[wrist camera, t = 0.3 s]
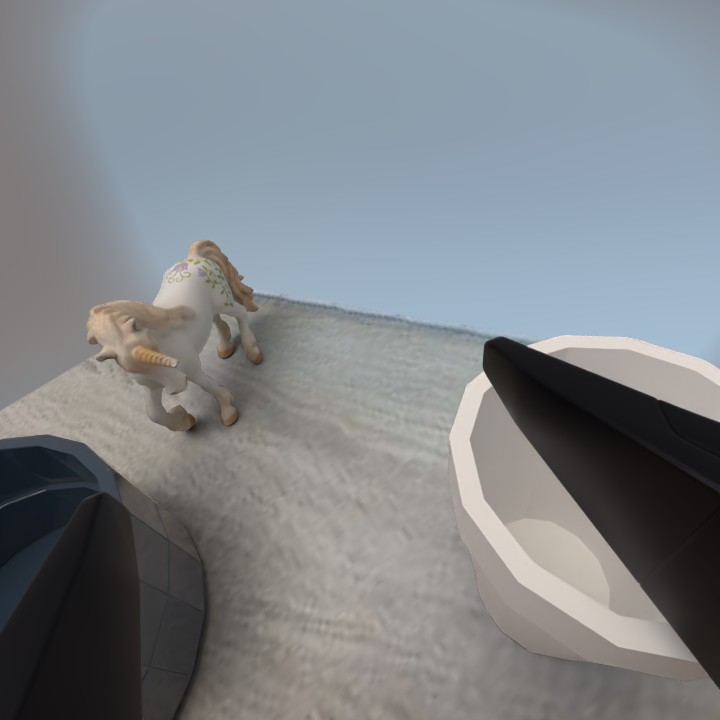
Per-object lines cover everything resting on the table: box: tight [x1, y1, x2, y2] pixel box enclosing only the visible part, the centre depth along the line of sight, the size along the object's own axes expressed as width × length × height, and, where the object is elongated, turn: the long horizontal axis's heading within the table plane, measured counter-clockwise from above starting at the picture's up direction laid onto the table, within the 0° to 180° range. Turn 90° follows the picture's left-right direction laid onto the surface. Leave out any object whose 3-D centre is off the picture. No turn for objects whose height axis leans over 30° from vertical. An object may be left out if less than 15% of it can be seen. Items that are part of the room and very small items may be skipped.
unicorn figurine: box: [87, 240, 262, 431], centre depth 27 cm, size 7×20×13 cm, turn 12°
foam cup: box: [448, 335, 720, 682], centre depth 16 cm, size 10×9×13 cm
